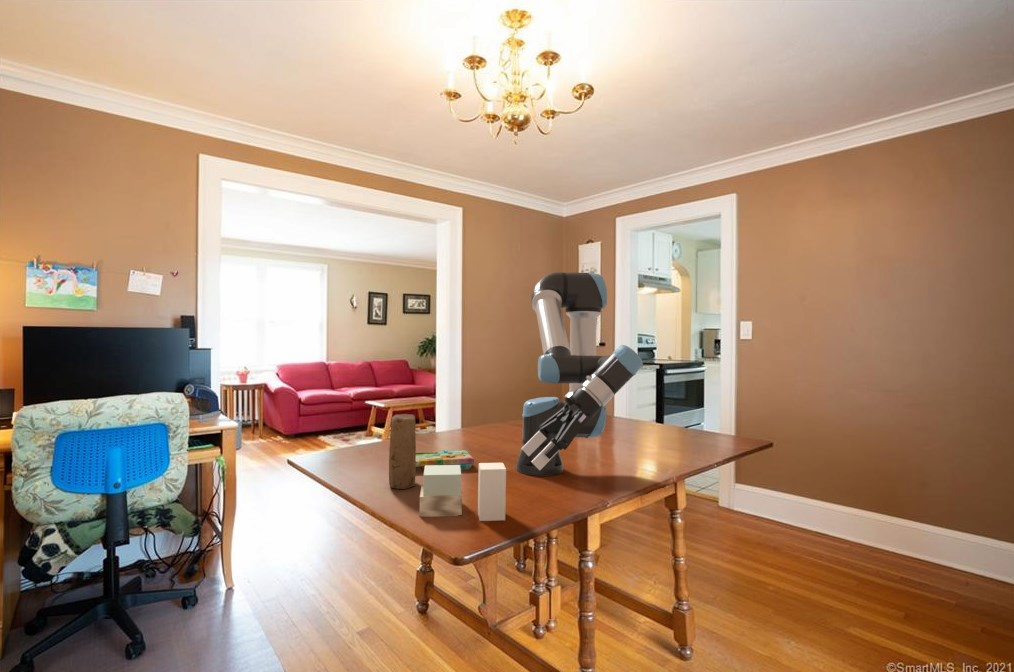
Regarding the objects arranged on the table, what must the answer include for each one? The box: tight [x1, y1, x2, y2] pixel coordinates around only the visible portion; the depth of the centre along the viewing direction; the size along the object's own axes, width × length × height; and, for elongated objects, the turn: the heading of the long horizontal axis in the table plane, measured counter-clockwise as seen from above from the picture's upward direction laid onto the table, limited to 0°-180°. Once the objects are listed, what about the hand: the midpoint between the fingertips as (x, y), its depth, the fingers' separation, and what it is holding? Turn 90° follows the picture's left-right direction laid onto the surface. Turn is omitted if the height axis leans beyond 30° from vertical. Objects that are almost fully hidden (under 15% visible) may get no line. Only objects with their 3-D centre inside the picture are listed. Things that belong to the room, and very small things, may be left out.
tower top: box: [422, 465, 462, 496], centre depth 124 cm, size 9×9×5 cm
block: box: [388, 413, 417, 490], centre depth 143 cm, size 11×8×20 cm
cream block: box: [477, 462, 507, 522], centre depth 119 cm, size 6×6×12 cm
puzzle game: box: [416, 449, 475, 473], centre depth 163 cm, size 12×5×20 cm
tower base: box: [418, 484, 463, 518], centre depth 123 cm, size 10×10×5 cm
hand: (529, 459), depth 120 cm, fingers open, 13 cm apart
